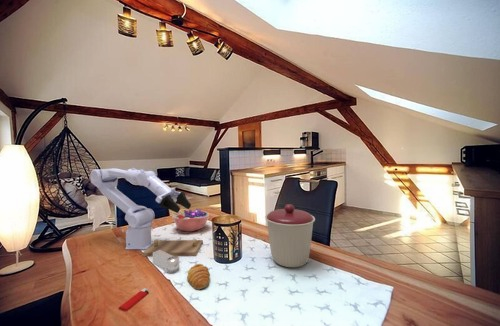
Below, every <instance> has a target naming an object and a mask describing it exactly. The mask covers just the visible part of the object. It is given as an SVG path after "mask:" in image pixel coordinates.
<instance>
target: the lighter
mask: <svg viewBox="0 0 500 326" xmlns="http://www.w3.org/2000/svg"><path fill="white" fill-rule="evenodd" d="M148 290H149V289H148V288H145V287H144V288H143V289H141V290H139V292H137V293H135V295H133V296H131V297H130V298H129V299H128V300H126V301H125V302H123V304H121V305H120V306H118V310H120V311H123V312H128V311H129V310H130V309H132V308H134V306H136V305H137V304H138V303H139V302H140V301H142V300H143V299H144V298H145V297H146V296H148V295H149V291H148Z"/></svg>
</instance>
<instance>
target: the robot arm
mask: <svg viewBox="0 0 500 326" xmlns="http://www.w3.org/2000/svg"><path fill="white" fill-rule="evenodd" d="M119 178H121V179H122V178H123V179H125V180H126V181H127V182H130V183H136V184H138V186H141V187H142V186H143V187H145V188H147V189H148V190H149V191H151V192H152V193H153V194H154V195H155V196H156V198H155V202H156V203H158V204H159V207H160V208H163V209H167V210H170V211H172V212H174V213H175V214H176V213H179V212H180V210H181V207H180V206H182V207H184V209H186V210H190V209H191V206H192V204H191V202H190V201H189V200H188V198H187V196H186V193H185V192H184V191H176V188H175V187H172V188H171V187H170V186H169V185H167V183H165V182H163V180H161V179H160V178H159V177H158V175H157V173H156V172H155V171H153V170H145V169H137V168H136V167H131V168H129V169H127V170H126V169H121V168H113V167H111V168H102V169H101V168H100V169H98V168H97V169H96V168H95V169H92V170H91V172H90V174H89V179H90V183H91V184H92V185H94V186H95V187H97V189H98V191H99V192H100V193H101V194H102V195H103V196H104V197H105V198H107V200H108V201H110V202H111V203H112V204H113V205H115V206H116V207H117V208H118V209H120V210H121V211H122V212H123V213H124V214H125V216H124V220H125V221H126V222H127V223H128V227H127V229H126V232H125V246H126V247H125V248H124V250H146V249H148V248H149V247H150V246H151V245H152V244H153V243H154V240H152V224H153V221H154V220H155V216H156V215H155V212H154V210H153V209H152V208H147V207H146V206H144V205H139V204H136V203H135V202H134V201H133V200H132V199H130V198H129V197H128V196H127V195H125V194H124V193H123V192H122V191H120V190H119V189H118V188H116V187H117V186H118V182H119V181H118V179H119ZM174 199H176V201H174ZM179 205H180V206H179Z"/></svg>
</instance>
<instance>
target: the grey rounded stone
mask: <svg viewBox="0 0 500 326" xmlns="http://www.w3.org/2000/svg"><path fill="white" fill-rule="evenodd" d="M152 263H153V265H156V266H158V267H159V268H161V269H163V270H165V271H166V273H168V274H171V275H172V274H177V272H179V271H180V256H172V255H170V254H168V253H166V252H164V251H161V250H158V251H156V252H153V256H152Z"/></svg>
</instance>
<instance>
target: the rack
mask: <svg viewBox="0 0 500 326" xmlns="http://www.w3.org/2000/svg"><path fill="white" fill-rule="evenodd" d="M153 241H154V243H153V244H152V245H151V246H150V247H149V248H148V249H144V251H143V252H142V257H153V252H156V251H158V250H161V251H164V252H166V253H168V254H170V255H172V256H178V257H196V256H197V254H198V253H199V252H200V249H201V247H202V245H203V244H204V241H203V239H197V238H194V239H171V240H170V239H168V240H159V239H154V240H153Z"/></svg>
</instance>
